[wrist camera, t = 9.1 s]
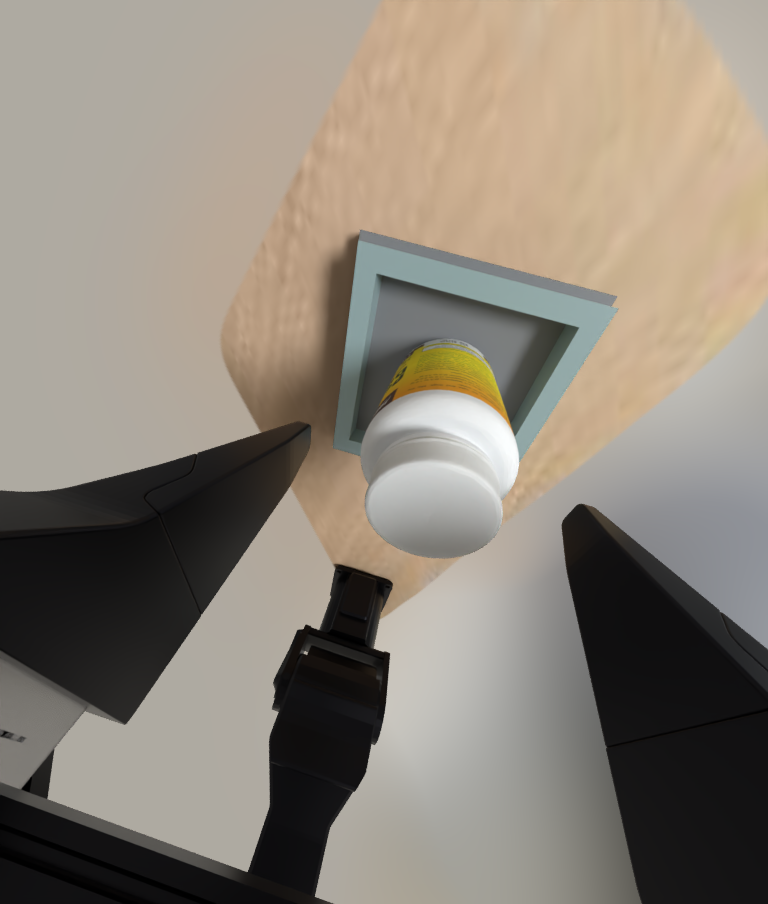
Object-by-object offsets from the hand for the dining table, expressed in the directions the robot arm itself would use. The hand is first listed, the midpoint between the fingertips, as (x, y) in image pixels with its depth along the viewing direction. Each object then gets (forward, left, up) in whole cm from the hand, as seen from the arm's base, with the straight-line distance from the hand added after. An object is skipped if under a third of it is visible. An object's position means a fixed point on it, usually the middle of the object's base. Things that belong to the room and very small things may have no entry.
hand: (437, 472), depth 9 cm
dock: (0, 0, -10) cm, 10 cm away
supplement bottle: (0, 0, -9) cm, 9 cm away
